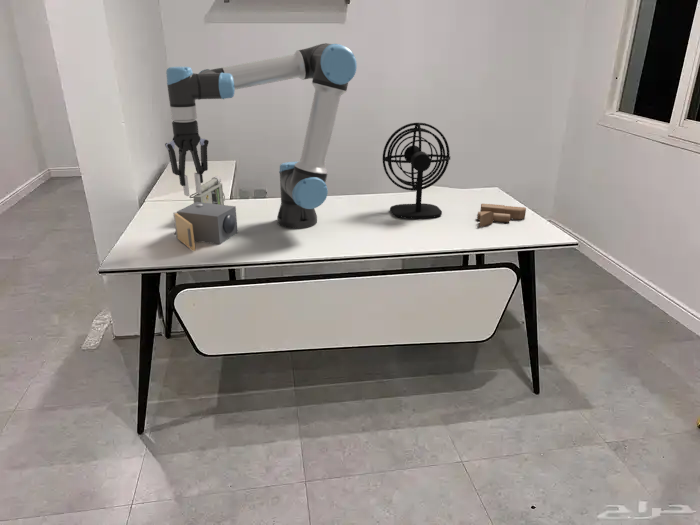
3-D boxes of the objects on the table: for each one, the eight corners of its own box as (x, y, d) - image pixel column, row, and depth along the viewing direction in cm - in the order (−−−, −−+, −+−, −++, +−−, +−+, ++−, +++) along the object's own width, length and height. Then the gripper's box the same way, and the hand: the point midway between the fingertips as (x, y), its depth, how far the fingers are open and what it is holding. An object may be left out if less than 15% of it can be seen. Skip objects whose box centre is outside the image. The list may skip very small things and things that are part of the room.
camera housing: (240, 233, 196) (237, 205, 192) (222, 244, 186) (219, 215, 182) (199, 227, 201) (196, 200, 197) (180, 238, 191) (176, 209, 187)
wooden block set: (479, 200, 217) (526, 204, 213) (477, 214, 219) (524, 218, 215) (477, 213, 201) (528, 217, 197) (476, 227, 204) (526, 232, 200)
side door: (195, 250, 179) (192, 224, 176) (191, 251, 179) (188, 225, 175) (179, 237, 191) (176, 212, 187) (175, 238, 190) (171, 213, 186)
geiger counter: (202, 188, 199) (229, 172, 222) (186, 187, 200) (214, 171, 223) (205, 224, 205) (232, 205, 227) (190, 223, 206) (217, 204, 228)
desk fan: (442, 204, 229) (448, 119, 215) (454, 218, 213) (462, 127, 199) (378, 207, 226) (381, 120, 212) (386, 220, 210) (389, 128, 196)
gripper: (205, 116, 174) (212, 187, 183) (153, 121, 165) (163, 195, 175) (214, 119, 169) (221, 192, 178) (162, 124, 160) (172, 201, 169)
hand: (192, 194), depth 176 cm, fingers open, 3 cm apart
